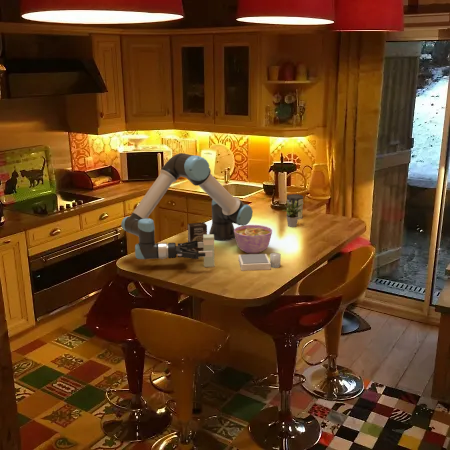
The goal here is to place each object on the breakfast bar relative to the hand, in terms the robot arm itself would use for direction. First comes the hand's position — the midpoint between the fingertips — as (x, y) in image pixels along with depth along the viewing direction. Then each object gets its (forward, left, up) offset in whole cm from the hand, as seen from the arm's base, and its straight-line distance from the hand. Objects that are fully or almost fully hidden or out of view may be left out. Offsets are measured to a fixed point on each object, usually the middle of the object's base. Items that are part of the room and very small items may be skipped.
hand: (211, 249), depth 261 cm
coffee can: (-80, +58, -9) cm, 99 cm away
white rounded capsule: (+4, +31, -8) cm, 32 cm away
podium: (+2, +21, -8) cm, 22 cm away
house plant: (-60, +53, -9) cm, 80 cm away
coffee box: (-17, -6, -9) cm, 20 cm away
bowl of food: (-18, +23, -9) cm, 30 cm away
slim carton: (0, -1, -8) cm, 9 cm away
